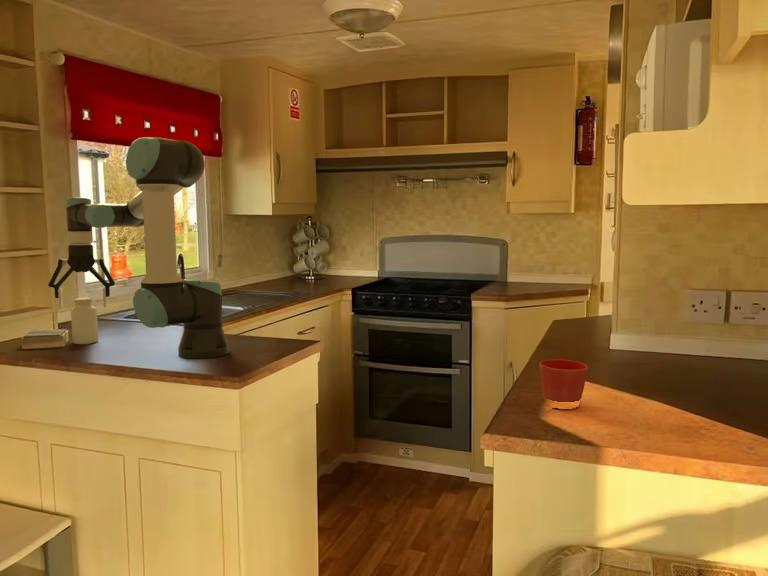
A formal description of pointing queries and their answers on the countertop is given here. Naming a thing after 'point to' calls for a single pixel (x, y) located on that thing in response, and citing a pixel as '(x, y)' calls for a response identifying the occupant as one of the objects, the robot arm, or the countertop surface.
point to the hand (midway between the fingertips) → (83, 307)
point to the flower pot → (563, 380)
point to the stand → (45, 338)
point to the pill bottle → (84, 322)
